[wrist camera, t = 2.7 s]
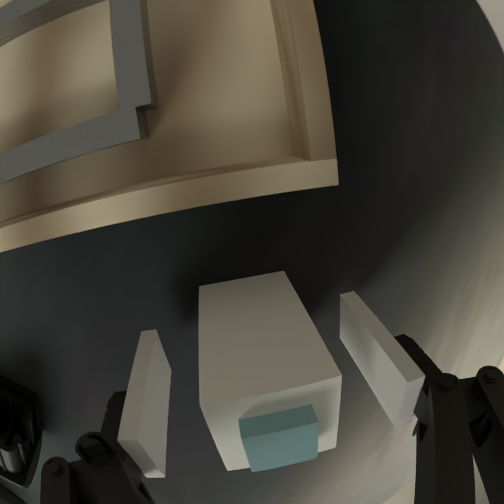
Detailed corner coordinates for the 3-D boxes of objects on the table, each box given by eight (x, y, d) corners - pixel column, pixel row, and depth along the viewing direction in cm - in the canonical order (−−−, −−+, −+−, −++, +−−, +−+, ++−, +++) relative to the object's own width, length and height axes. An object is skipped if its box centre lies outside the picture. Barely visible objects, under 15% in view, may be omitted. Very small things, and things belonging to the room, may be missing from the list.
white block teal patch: (215, 352, 18) (229, 486, 10) (199, 286, 16) (200, 424, 8) (290, 337, 18) (341, 462, 10) (283, 270, 16) (351, 392, 8)
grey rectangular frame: (-31, 198, 11) (-53, 207, 9) (-43, 57, 8) (-65, 54, 6) (163, 134, 12) (156, 134, 10) (144, -29, 9) (137, -49, 7)
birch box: (-62, 259, 13) (-92, 281, 10) (-84, 44, 7) (-114, 41, 4) (310, 173, 15) (338, 184, 11) (262, -91, 9) (275, -126, 5)
